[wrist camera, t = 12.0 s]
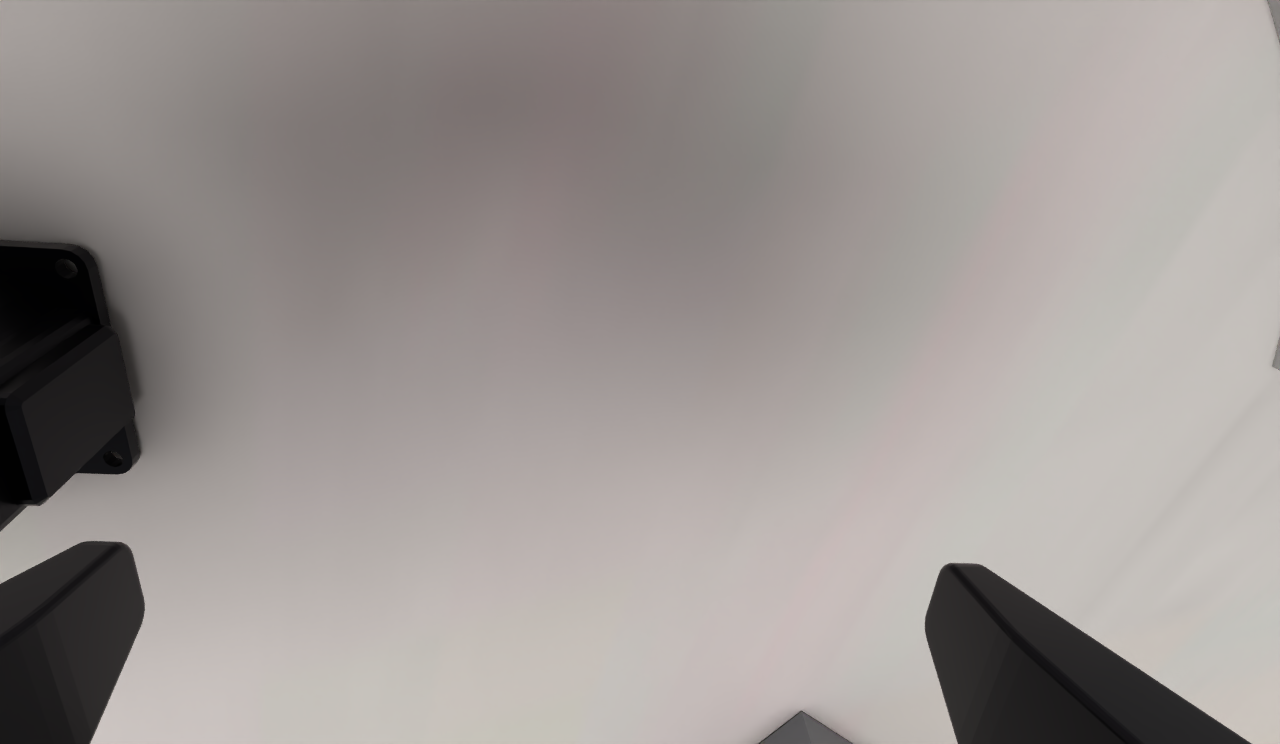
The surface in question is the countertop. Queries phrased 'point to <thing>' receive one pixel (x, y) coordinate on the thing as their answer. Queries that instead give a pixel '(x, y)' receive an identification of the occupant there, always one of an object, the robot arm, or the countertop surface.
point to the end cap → (804, 733)
